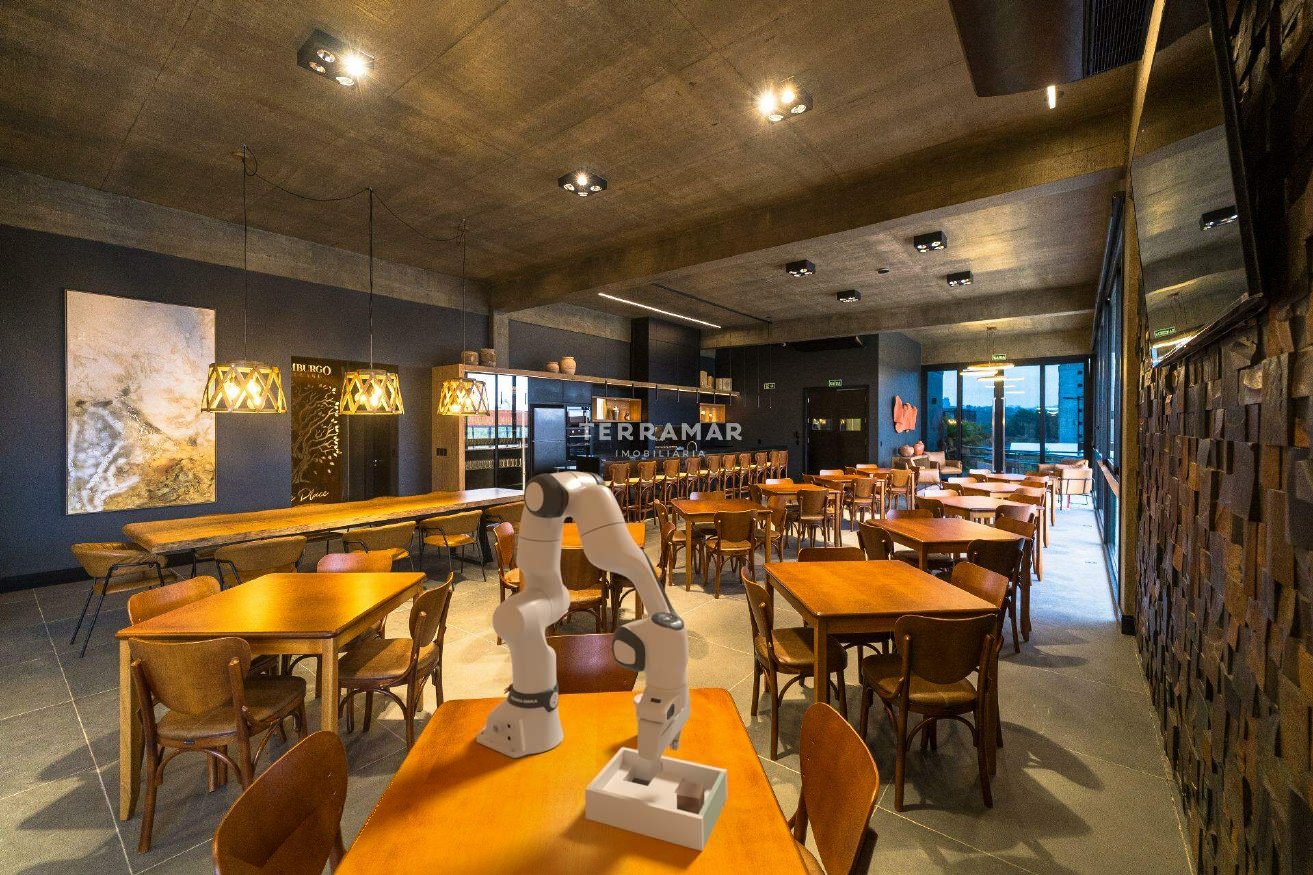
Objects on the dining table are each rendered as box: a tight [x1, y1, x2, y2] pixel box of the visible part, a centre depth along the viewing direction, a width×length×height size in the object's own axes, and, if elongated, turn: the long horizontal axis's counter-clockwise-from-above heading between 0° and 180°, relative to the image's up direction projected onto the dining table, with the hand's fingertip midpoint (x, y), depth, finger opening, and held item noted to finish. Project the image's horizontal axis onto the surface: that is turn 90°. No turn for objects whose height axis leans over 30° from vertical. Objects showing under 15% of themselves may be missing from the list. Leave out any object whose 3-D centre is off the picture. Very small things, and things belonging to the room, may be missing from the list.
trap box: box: [584, 746, 728, 852], centre depth 119 cm, size 25×17×6 cm
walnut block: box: [677, 781, 705, 814], centre depth 113 cm, size 4×4×4 cm
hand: (666, 759), depth 119 cm, fingers open, 8 cm apart
